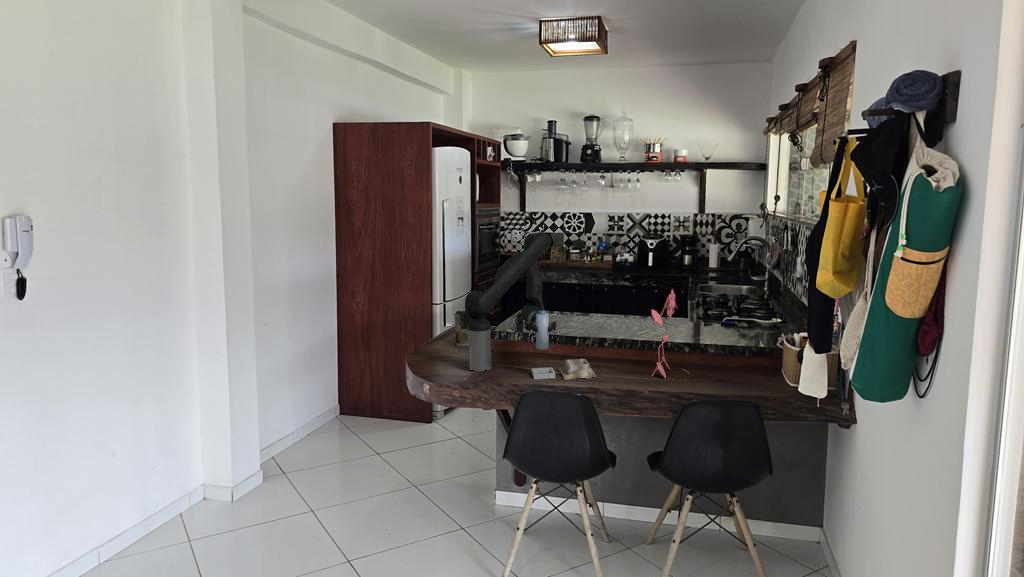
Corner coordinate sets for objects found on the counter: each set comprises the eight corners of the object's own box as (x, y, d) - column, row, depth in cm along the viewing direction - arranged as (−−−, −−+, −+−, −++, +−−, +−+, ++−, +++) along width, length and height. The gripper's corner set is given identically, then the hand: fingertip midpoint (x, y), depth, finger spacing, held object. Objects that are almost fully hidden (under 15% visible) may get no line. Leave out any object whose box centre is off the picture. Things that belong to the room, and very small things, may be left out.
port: (564, 379, 284) (564, 367, 283) (559, 370, 297) (558, 358, 296) (596, 378, 285) (596, 365, 284) (589, 368, 298) (589, 357, 297)
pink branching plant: (644, 381, 278) (647, 294, 272) (658, 364, 302) (661, 283, 295) (684, 386, 272) (688, 297, 266) (695, 368, 296) (699, 286, 289)
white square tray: (534, 379, 285) (534, 374, 285) (531, 373, 293) (531, 368, 293) (555, 378, 286) (555, 373, 285) (552, 372, 294) (552, 367, 294)
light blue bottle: (537, 349, 285) (536, 312, 282) (535, 346, 290) (535, 310, 287) (549, 349, 285) (549, 312, 283) (547, 346, 290) (547, 309, 287)
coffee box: (476, 343, 345) (475, 310, 342) (474, 346, 338) (473, 313, 336) (457, 343, 346) (456, 310, 343) (455, 346, 339) (454, 313, 336)
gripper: (521, 312, 299) (525, 321, 282) (554, 311, 300) (561, 320, 283) (521, 330, 300) (525, 339, 283) (554, 329, 301) (561, 338, 285)
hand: (543, 329), depth 283 cm, fingers closed on light blue bottle, 5 cm apart
